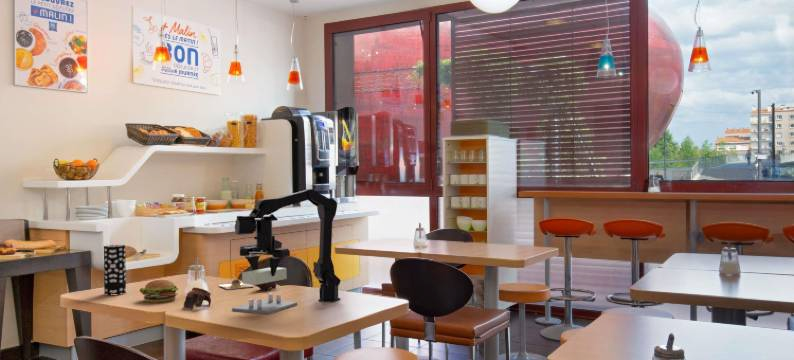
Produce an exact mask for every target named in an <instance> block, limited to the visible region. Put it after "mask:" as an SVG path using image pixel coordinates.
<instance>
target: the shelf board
mask: <svg viewBox="0 0 794 360" xmlns="http://www.w3.org/2000/svg"><path fill="white" fill-rule="evenodd" d="M287 271H288V270H287V268H286V267H277V270H276V273H275V276H272V274H271V268H270V267H265V268H261V269H259V268H258V270H253V269H252V270H249V271H248V270H247V271H243V272H241V273H242V274H241V275H242V277H241V279H242V282H241V283H243V284H249V285H252V286H254V285H258V284H263V283H268V282H278V281H283V280H287V274H288V273H287Z"/></svg>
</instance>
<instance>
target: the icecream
mask: <svg viewBox="0 0 794 360" xmlns="http://www.w3.org/2000/svg"><path fill="white" fill-rule="evenodd" d="M254 286H255V287H257V288H259V289H260V291H264V290H265V291H267V290H270V289H275V288H276V287H277V284H276V283H275V281H273V282H268V283H263V284H258V285H253V287H254Z"/></svg>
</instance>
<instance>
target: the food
mask: <svg viewBox="0 0 794 360" xmlns="http://www.w3.org/2000/svg"><path fill="white" fill-rule="evenodd" d="M178 290H179V288H178V287H177V285H175V284H174V282H173V281H170V280H166V279H157V280H152V281H149V282H147V284H145V285H144V287H141V288H140V289H139V293H141V294H142V296H143V301H144V302H146V303H151V302H158V303H166V302H167V301H168V302H171V301H174V300H175V299H176V296H177V295H179V293H178V292H177V291H178Z"/></svg>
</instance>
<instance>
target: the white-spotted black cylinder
mask: <svg viewBox="0 0 794 360" xmlns="http://www.w3.org/2000/svg"><path fill="white" fill-rule="evenodd" d="M126 270H127V269H126V245H125V244H112V245H111V244H109V245H103V283H104V285H103V286H104V287H103V291H104V294H106V295H105V296H112V295H111V294H122V293H125V294H126V293H127V277H126V276H127V274H126V273H127V271H126ZM122 295H123V294H122Z"/></svg>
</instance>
